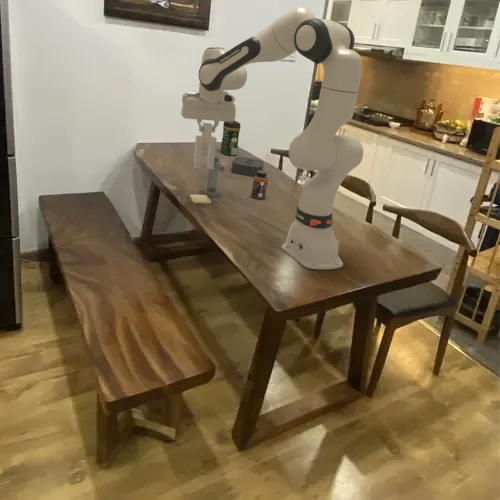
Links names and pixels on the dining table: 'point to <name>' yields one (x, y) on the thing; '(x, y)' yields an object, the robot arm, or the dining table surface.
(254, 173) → the streaming box
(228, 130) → the coffee jar
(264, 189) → the supplement bottle
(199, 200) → the felt pad
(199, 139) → the pale upright frame
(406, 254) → the dining table surface
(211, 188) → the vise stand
